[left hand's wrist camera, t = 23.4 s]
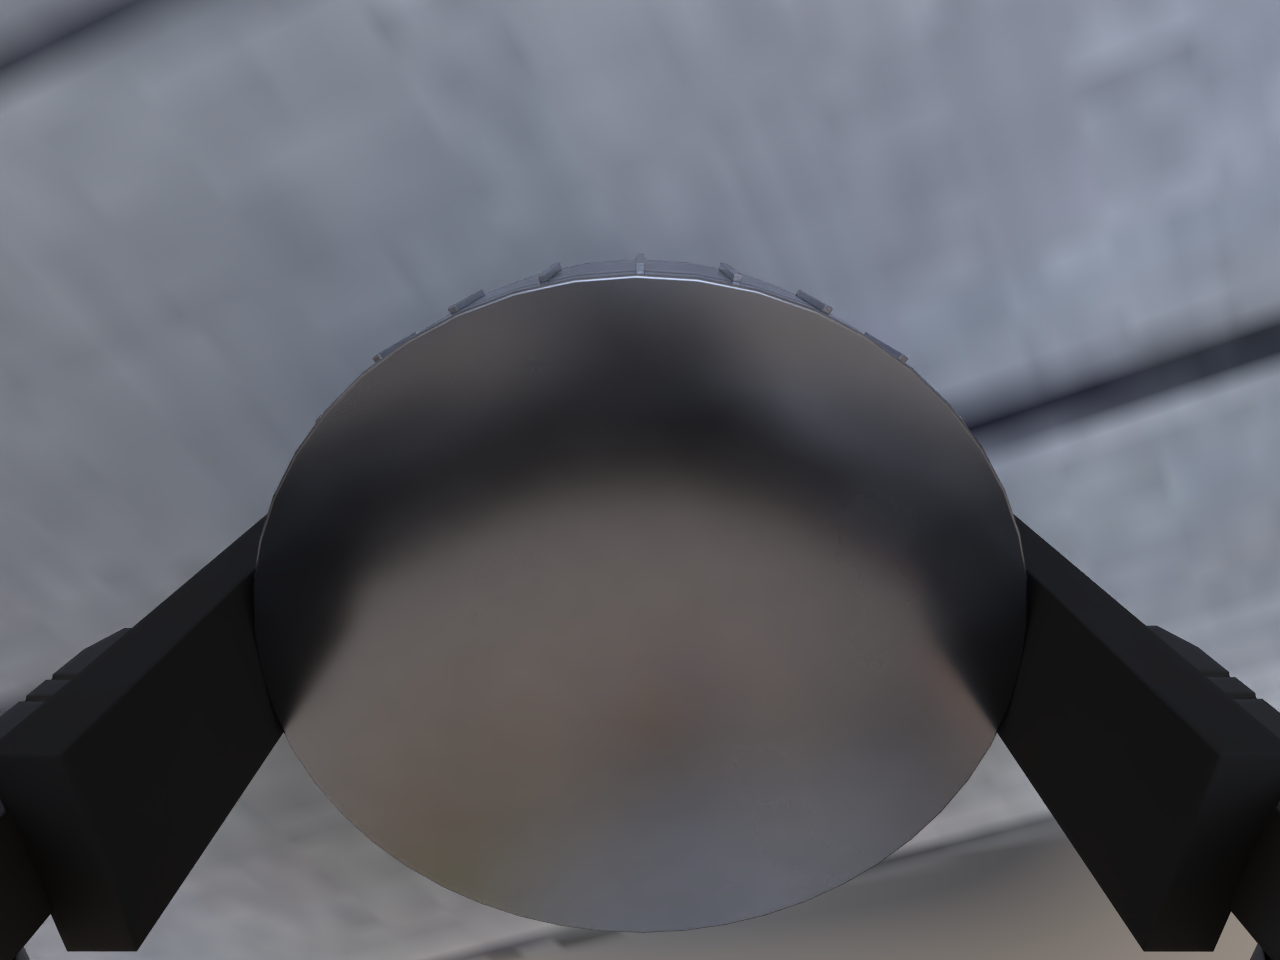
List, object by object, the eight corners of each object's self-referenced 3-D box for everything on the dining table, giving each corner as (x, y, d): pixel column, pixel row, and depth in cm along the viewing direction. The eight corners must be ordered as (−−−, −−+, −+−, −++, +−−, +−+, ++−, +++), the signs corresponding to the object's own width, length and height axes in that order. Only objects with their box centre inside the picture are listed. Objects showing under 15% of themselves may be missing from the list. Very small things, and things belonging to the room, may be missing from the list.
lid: (922, 154, 10) (1000, 142, 8) (994, 764, 14) (1057, 866, 12) (193, 369, 11) (87, 409, 9) (456, 875, 15) (426, 985, 13)
